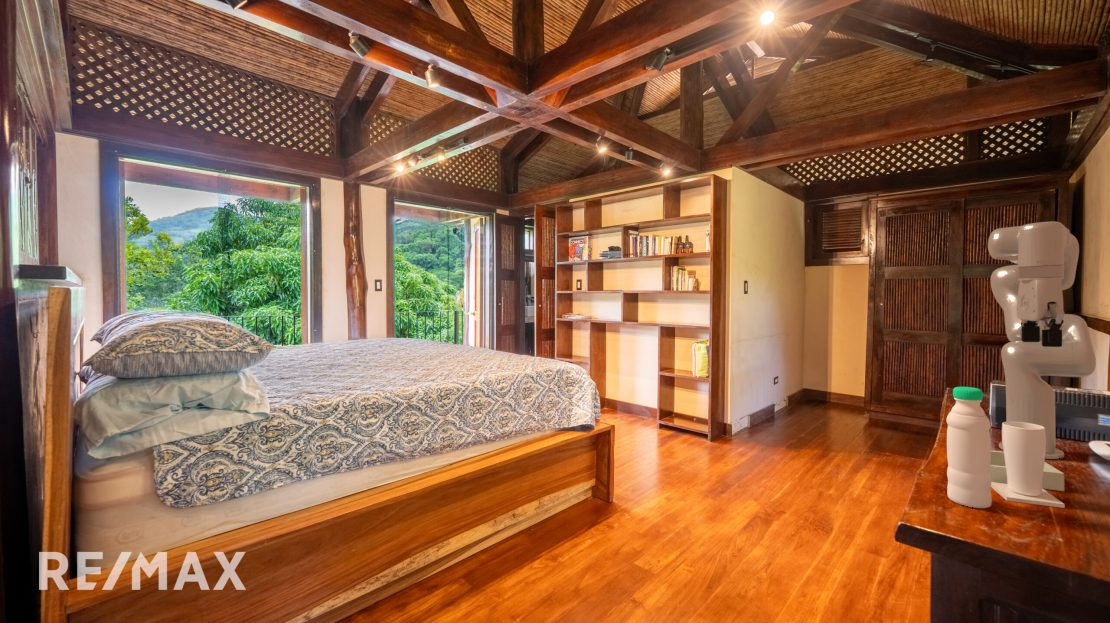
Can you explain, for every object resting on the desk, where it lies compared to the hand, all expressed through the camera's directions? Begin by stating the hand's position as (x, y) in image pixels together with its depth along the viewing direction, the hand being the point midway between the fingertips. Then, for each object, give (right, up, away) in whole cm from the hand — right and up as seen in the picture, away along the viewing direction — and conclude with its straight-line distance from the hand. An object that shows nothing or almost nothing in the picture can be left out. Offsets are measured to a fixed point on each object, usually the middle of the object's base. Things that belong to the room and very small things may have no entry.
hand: (1040, 344), depth 108 cm
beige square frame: (-6, -33, +2) cm, 33 cm away
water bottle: (-28, -34, -11) cm, 45 cm away
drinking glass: (-14, -33, -9) cm, 36 cm away
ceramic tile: (-14, -33, -9) cm, 37 cm away
